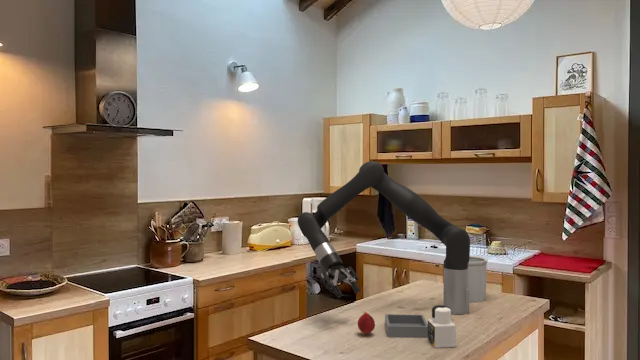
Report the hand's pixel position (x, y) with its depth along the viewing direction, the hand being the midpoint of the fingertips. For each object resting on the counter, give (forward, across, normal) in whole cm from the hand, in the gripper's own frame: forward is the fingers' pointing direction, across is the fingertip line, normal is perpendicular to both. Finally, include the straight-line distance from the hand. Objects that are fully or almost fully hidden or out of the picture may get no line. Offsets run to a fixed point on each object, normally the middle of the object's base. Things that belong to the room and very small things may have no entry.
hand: (349, 294), depth 174 cm
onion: (+15, 0, +3) cm, 15 cm away
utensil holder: (+11, +67, +6) cm, 68 cm away
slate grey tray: (+19, +14, -2) cm, 23 cm away
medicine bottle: (+30, +13, -12) cm, 35 cm away
